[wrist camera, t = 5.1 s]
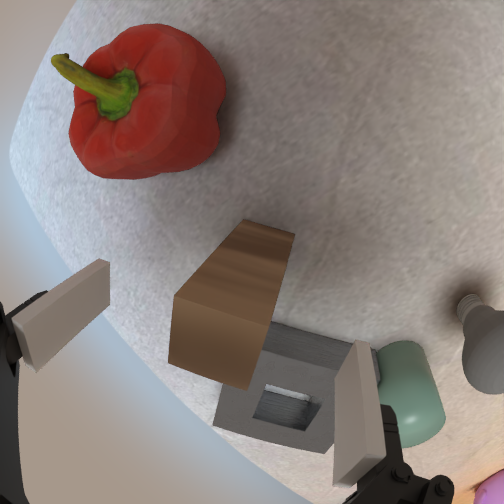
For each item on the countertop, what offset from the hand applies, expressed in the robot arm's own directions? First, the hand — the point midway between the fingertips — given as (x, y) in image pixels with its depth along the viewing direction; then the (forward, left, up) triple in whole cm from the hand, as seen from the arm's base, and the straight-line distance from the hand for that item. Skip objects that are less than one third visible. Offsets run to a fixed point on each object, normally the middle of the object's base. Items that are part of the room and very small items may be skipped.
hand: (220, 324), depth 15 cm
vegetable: (-10, -9, -10) cm, 16 cm away
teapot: (+32, +58, -10) cm, 67 cm away
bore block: (+12, +6, -10) cm, 17 cm away
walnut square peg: (0, 0, -10) cm, 10 cm away
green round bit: (+7, +15, -10) cm, 19 cm away
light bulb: (-1, +19, -10) cm, 21 cm away
